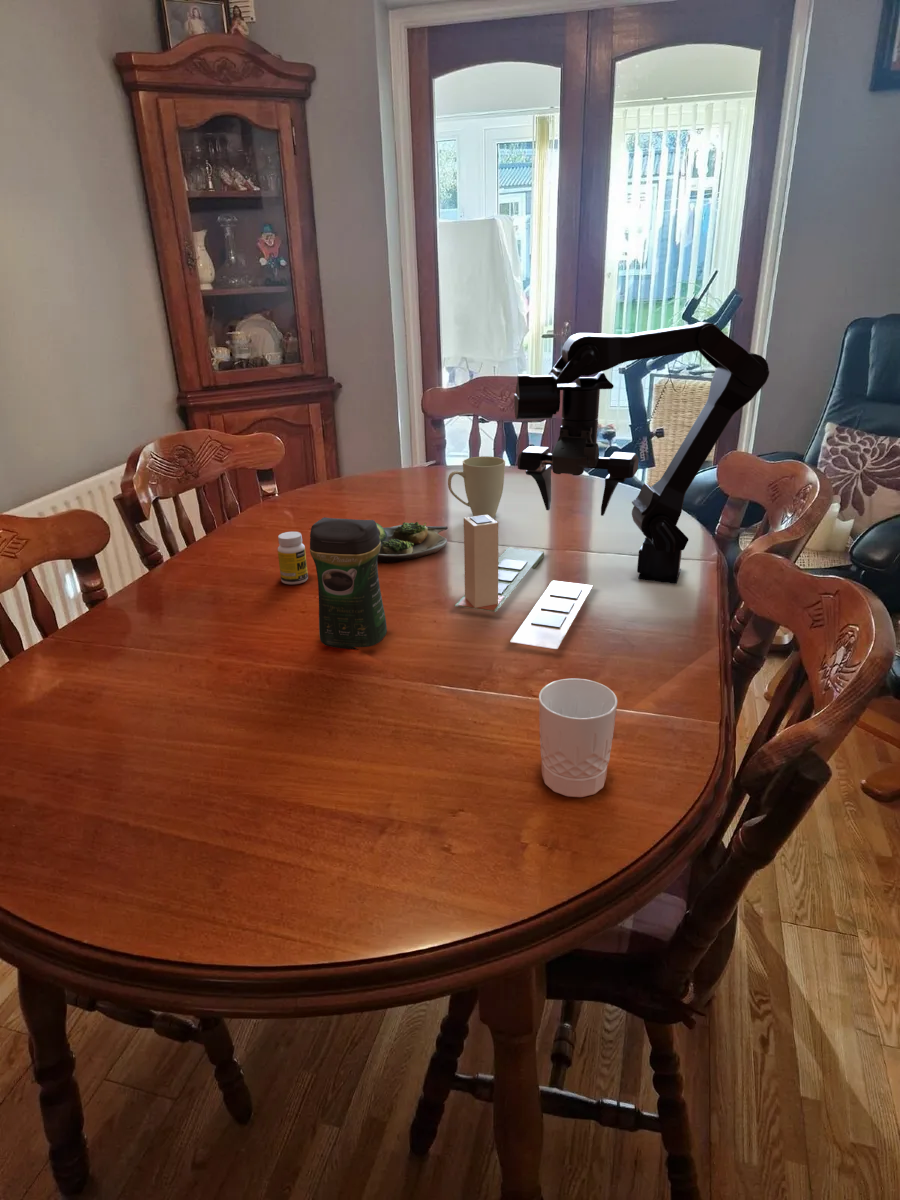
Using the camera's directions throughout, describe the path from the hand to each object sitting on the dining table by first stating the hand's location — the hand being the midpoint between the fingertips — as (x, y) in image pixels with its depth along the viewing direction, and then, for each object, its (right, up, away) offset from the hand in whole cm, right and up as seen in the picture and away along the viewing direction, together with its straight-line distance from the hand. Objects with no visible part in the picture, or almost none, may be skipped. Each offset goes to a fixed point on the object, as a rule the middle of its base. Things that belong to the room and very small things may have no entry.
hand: (575, 512), depth 126 cm
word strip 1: (-12, -11, +5) cm, 17 cm away
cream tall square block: (-16, -15, -5) cm, 22 cm away
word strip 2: (-5, -17, -9) cm, 20 cm away
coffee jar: (-35, -21, -14) cm, 43 cm away
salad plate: (-31, -4, +22) cm, 38 cm away
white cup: (-8, -34, -45) cm, 57 cm away
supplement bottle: (-48, -11, +8) cm, 50 cm away
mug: (-14, +3, +38) cm, 41 cm away
